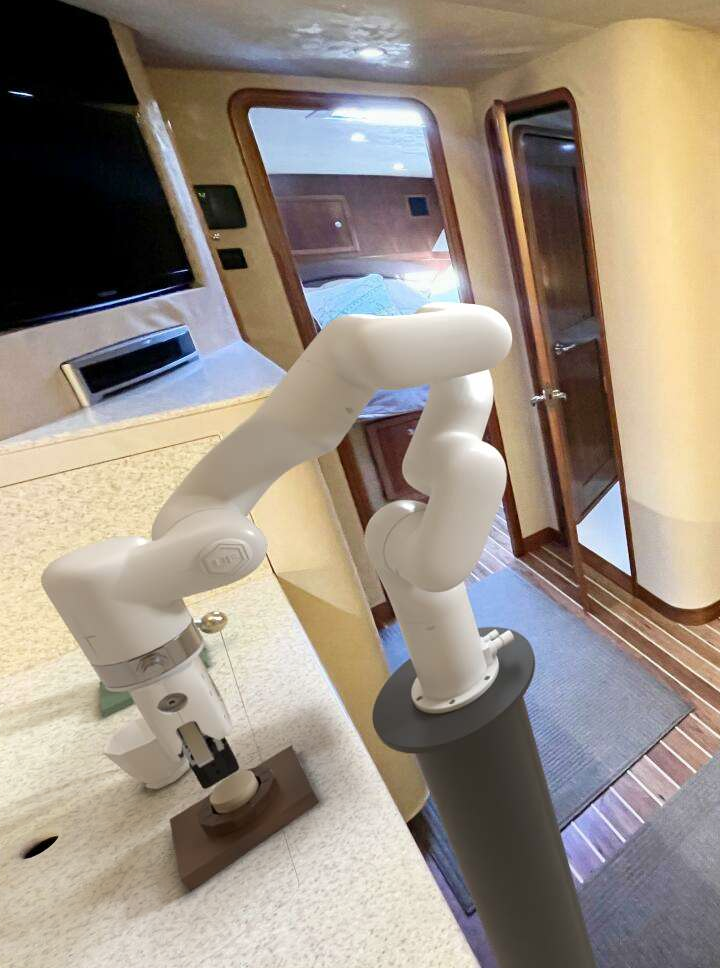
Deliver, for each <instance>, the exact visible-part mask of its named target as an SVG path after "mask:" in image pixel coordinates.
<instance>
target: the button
mask: <svg viewBox="0 0 720 968" xmlns="http://www.w3.org/2000/svg"><path fill="white" fill-rule="evenodd" d="M245 770H246V771H244V770H240V771H236V772H234V773H233V774H231V775H229V776H228V777H226V778H224V779H223V780H221V781H220V782H219V783H218V784H217V785H216V786H215V787H214V789H212V790H213V792H212V791H211V792H212V793H211V792H210V793H211V796H210V802H211V804H212V805H213V807H214V808H215V810H216V812H218V813H220V814H226V813H229V812H232V811H234V810H236V809H237V808H239V807H241V806H242V805H244V804H245V803H247V802H248V801H249V800H250V799H251V798H252V797H253V796H254V795H255V794H256V792H257V790H258V788H259V783H258V781H257V779H256V777H255V776H254V774H253V772H251V771H247V769H245Z"/></svg>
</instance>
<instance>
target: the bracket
mask: <svg viewBox="0 0 720 968" xmlns="http://www.w3.org/2000/svg"><path fill="white" fill-rule="evenodd" d="M199 657H200V659H201V660H202V662H203V664H204V666H205V667H206V669H208V668H210V663H209V661H208V658H207V656H206V652H205V650H204V648H203V649H202V651H201V652H200V654H199ZM98 683H99V696H100V697H99V698H100V709H101V713H102V714H103V716H104V717H108V716H110V715H112V714H114V713H116V712H119V711H121V710H122V709H124V708H126V707H128V706H131V705H132V704H135V702H134V700H133V699H132V697H131V695H130V693H129V692H128V691H123V692H112V691H109V690H107V689H106V688H105V686H104V685H103V683H102V681H101V680H100V681H99V682H98Z"/></svg>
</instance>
